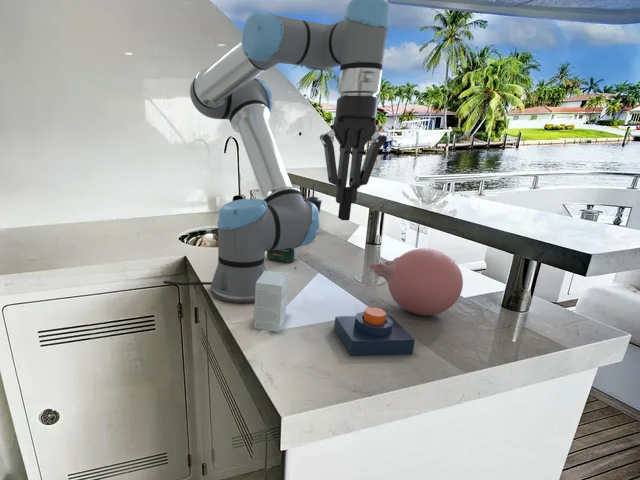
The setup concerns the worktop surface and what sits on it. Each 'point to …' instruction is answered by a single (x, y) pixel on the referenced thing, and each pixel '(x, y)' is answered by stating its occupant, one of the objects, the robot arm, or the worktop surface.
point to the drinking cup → (314, 199)
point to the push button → (373, 336)
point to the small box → (270, 300)
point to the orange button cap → (374, 316)
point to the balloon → (422, 280)
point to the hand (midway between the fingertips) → (343, 218)
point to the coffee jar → (283, 254)
